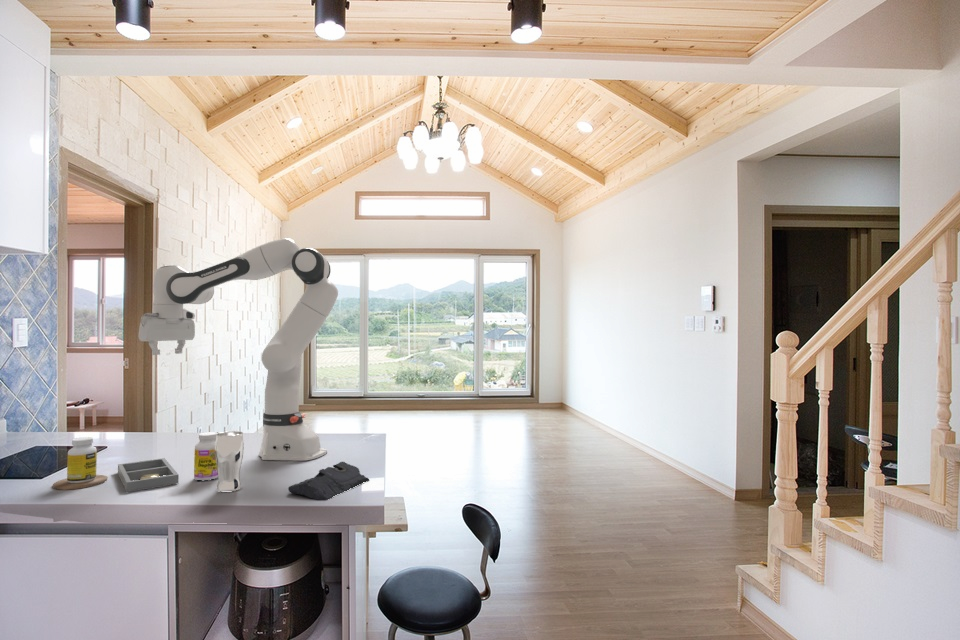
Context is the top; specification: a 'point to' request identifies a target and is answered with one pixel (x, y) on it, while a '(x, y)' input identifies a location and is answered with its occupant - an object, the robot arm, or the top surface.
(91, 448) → the pill bottle
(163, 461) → the parts tray
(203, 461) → the supplement bottle
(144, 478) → the gold dome knob
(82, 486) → the walnut coaster
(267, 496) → the top surface
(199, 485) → the top surface
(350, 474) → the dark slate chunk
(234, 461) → the shiny silver flared piece
